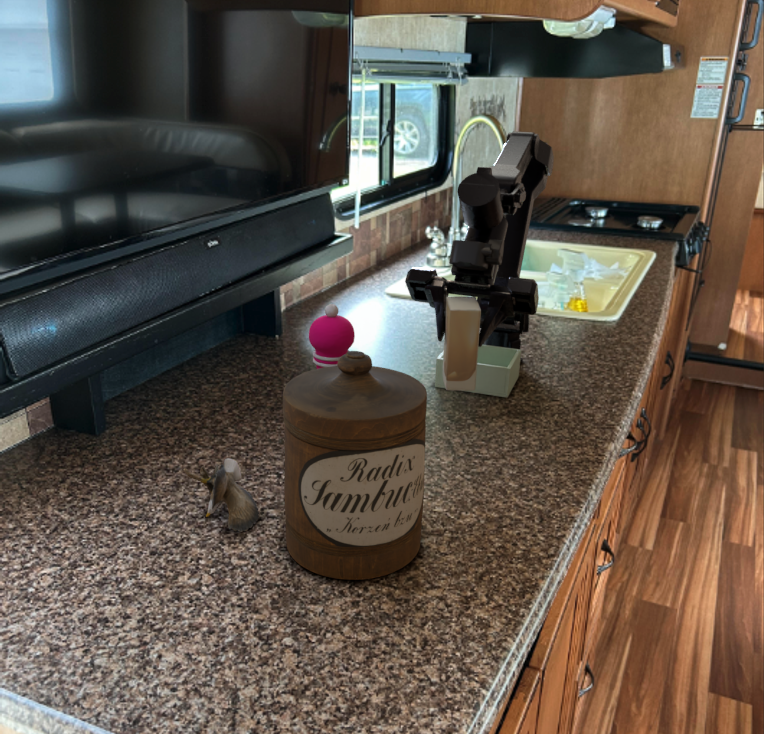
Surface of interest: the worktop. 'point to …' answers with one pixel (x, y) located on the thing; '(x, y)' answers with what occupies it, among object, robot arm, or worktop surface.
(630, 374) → the worktop surface
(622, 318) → the worktop surface
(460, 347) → the cosmetic box
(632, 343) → the worktop surface
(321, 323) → the pepper mill
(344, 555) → the wooden container
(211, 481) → the eagle figurine
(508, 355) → the bin
